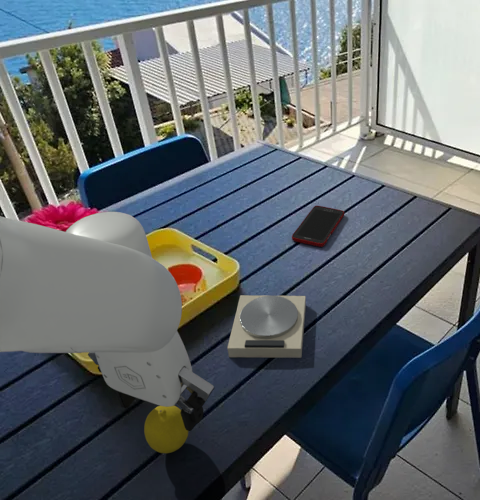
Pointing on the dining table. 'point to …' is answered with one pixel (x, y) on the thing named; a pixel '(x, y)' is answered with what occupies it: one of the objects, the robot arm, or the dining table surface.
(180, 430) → the lemon
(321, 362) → the dining table surface
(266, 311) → the scale
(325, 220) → the cell phone
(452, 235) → the dining table surface
